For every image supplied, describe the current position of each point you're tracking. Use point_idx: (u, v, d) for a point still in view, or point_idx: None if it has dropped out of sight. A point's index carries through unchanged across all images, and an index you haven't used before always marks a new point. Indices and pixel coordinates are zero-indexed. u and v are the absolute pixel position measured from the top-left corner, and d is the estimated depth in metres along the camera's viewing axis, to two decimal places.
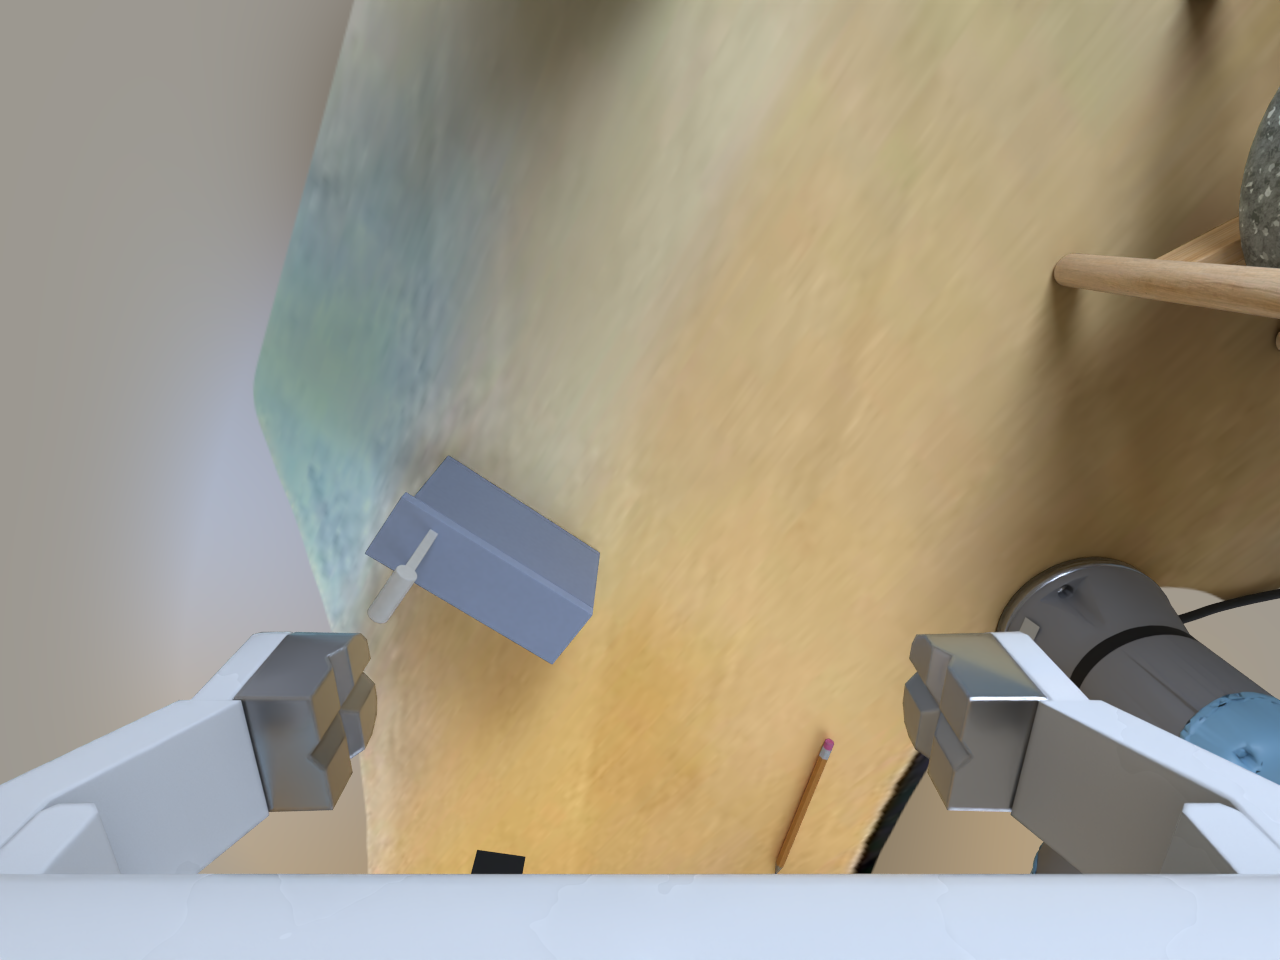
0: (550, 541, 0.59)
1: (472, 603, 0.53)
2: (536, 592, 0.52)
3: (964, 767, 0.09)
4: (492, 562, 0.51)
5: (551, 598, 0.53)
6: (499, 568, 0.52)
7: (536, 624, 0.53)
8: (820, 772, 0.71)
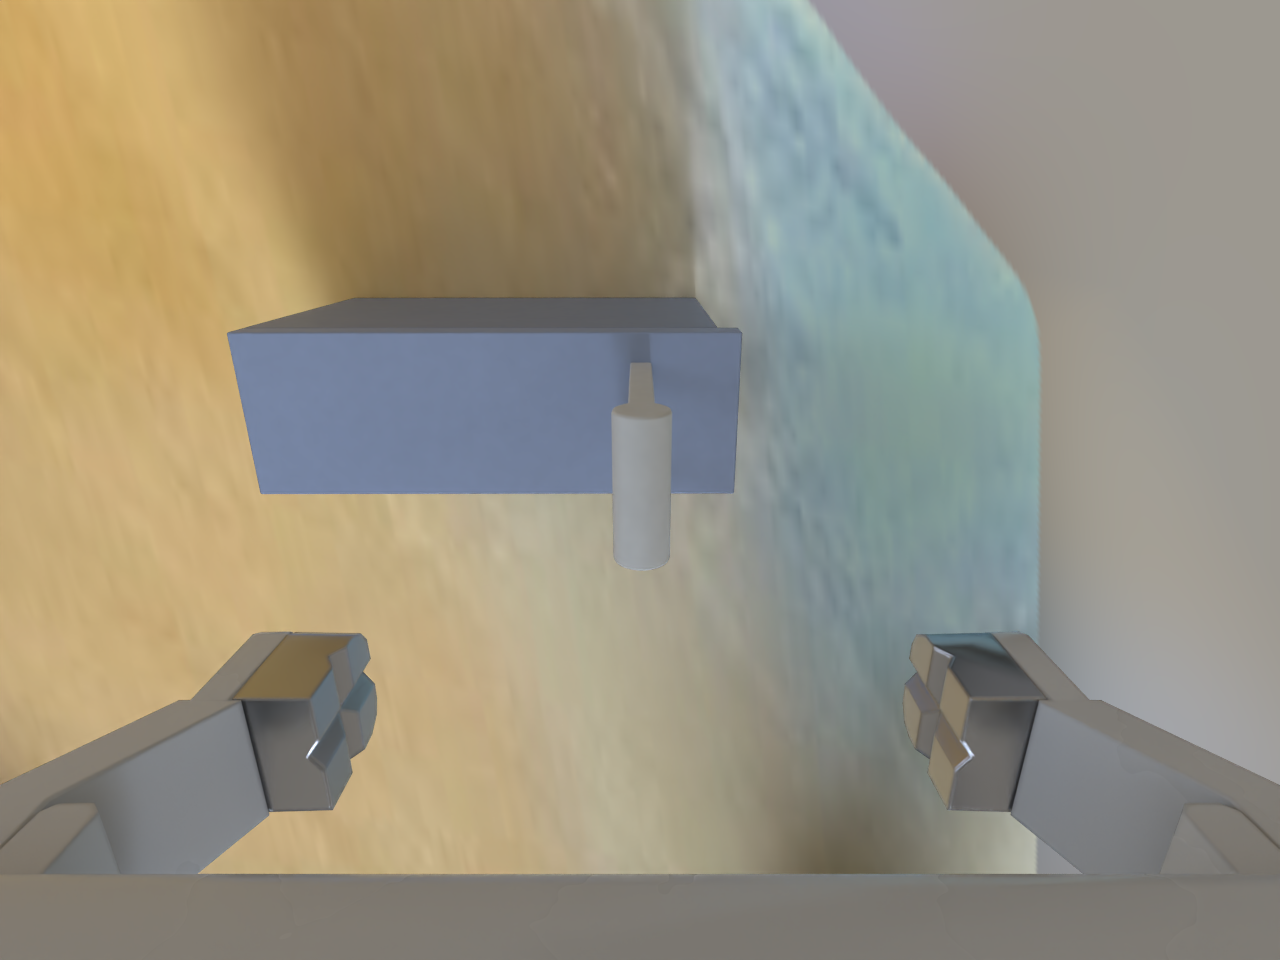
0: None
1: (476, 365, 0.23)
2: (386, 470, 0.24)
3: (964, 767, 0.09)
4: (503, 476, 0.24)
5: (353, 476, 0.24)
6: (483, 473, 0.24)
7: (331, 403, 0.23)
8: None
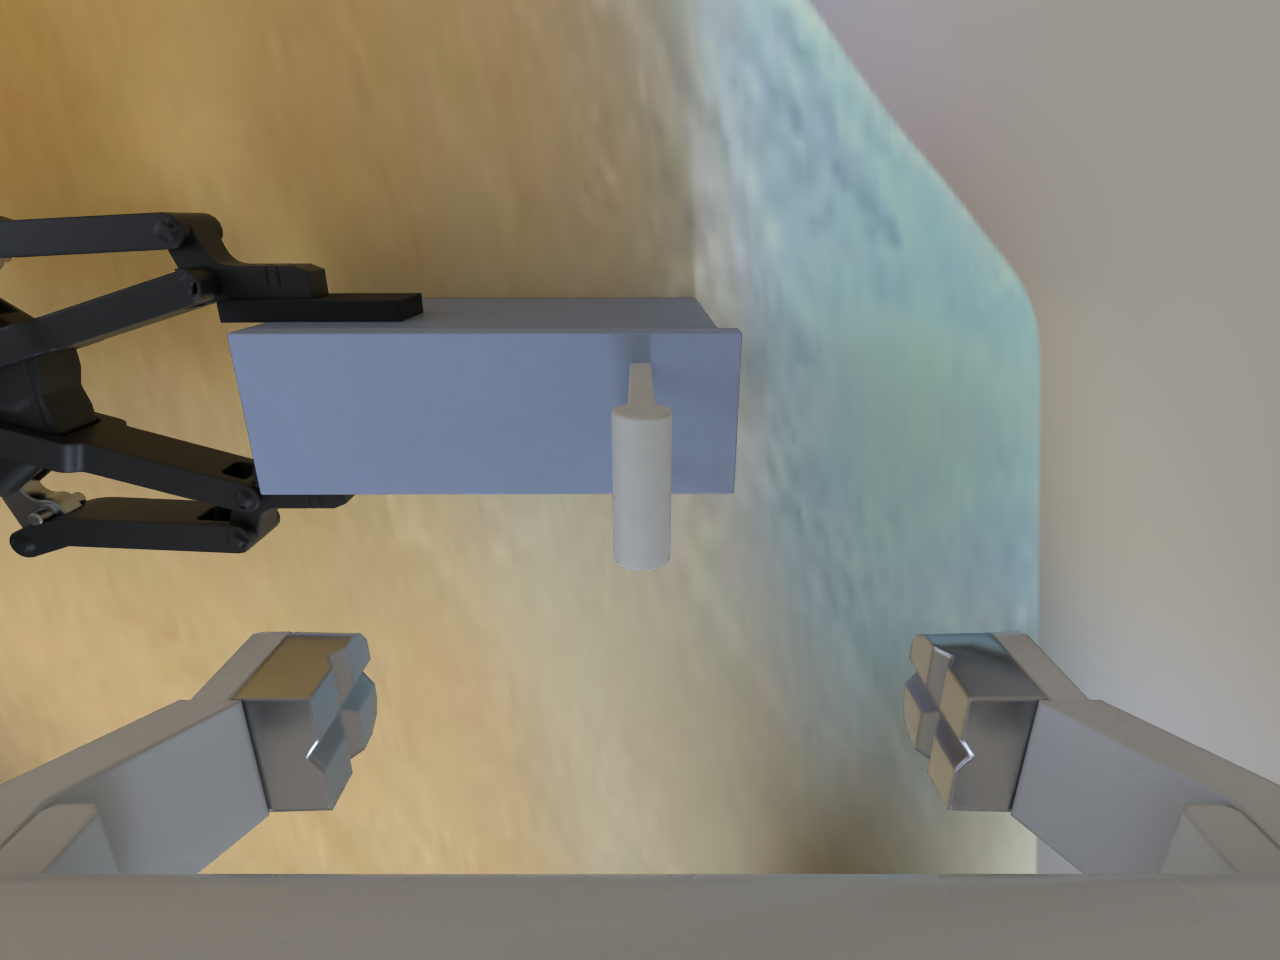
0: None
1: (476, 365, 0.23)
2: (386, 471, 0.24)
3: (963, 768, 0.09)
4: (503, 476, 0.24)
5: (353, 477, 0.24)
6: (483, 473, 0.24)
7: (331, 404, 0.23)
8: None
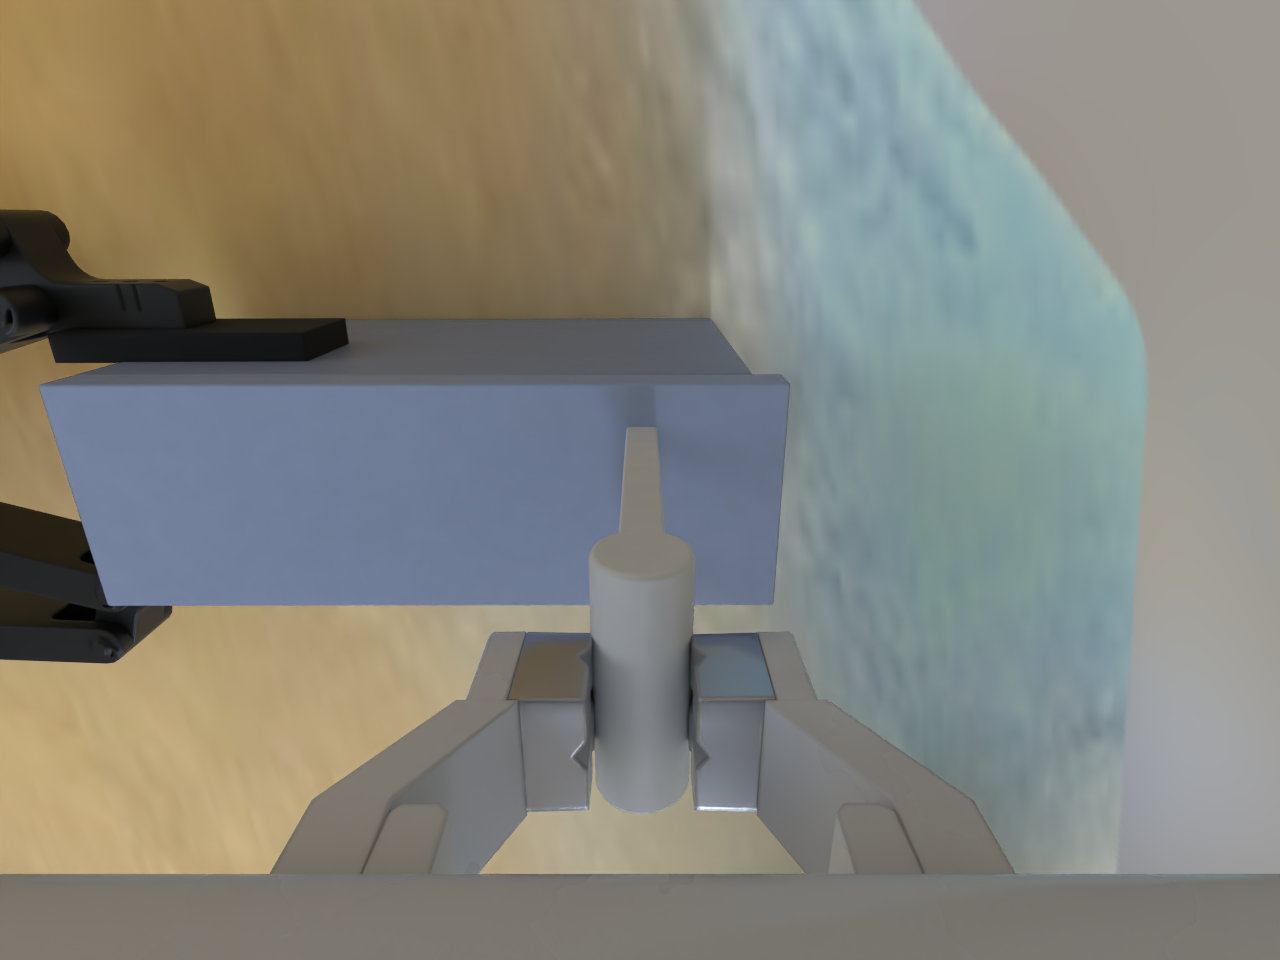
0: None
1: (403, 430, 0.16)
2: (282, 575, 0.17)
3: (704, 767, 0.09)
4: (447, 582, 0.17)
5: (235, 583, 0.17)
6: (419, 578, 0.17)
7: (197, 484, 0.16)
8: None
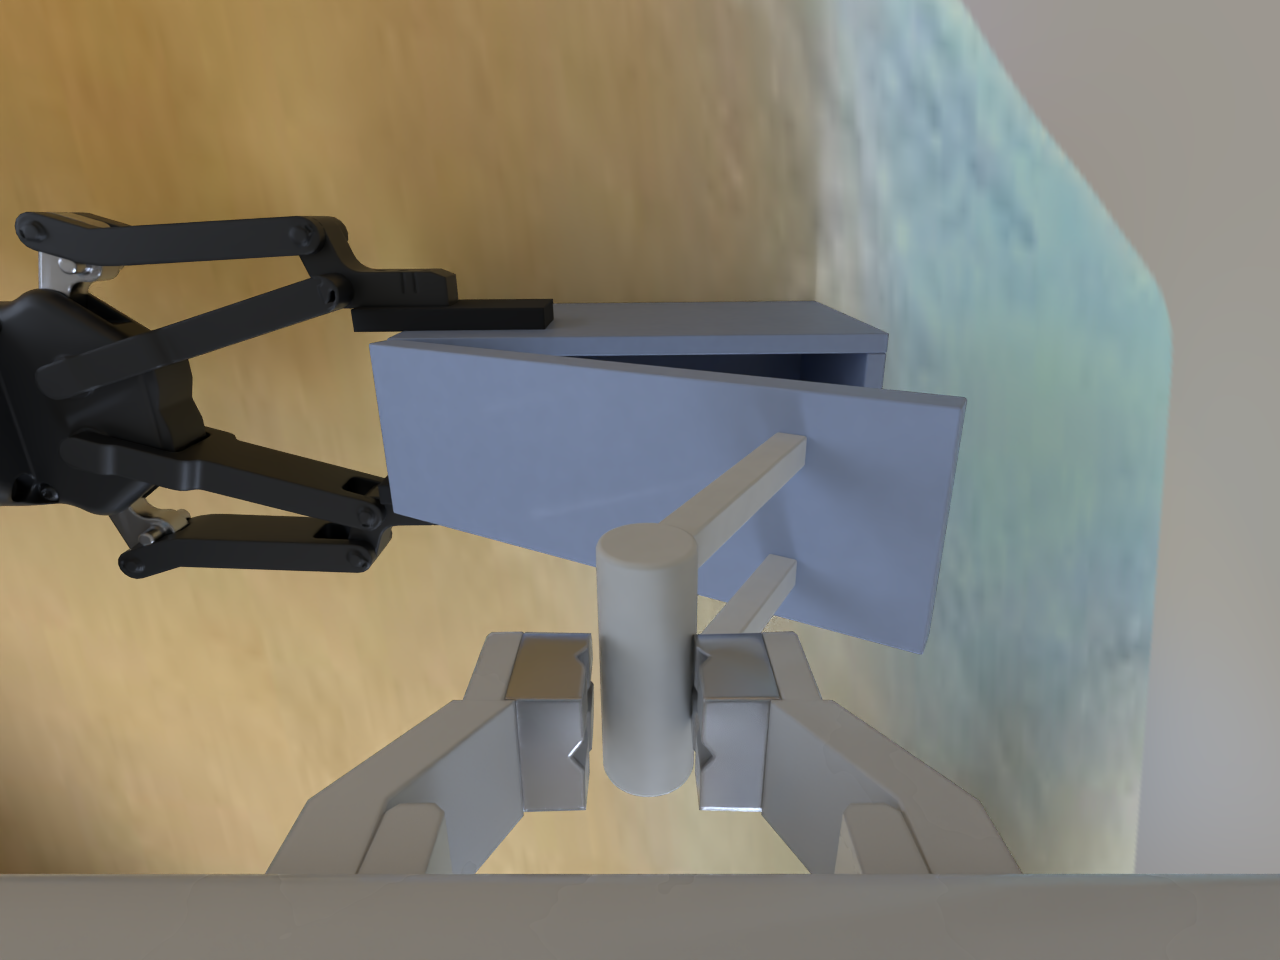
0: None
1: (587, 408, 0.18)
2: (496, 515, 0.21)
3: (708, 767, 0.09)
4: None
5: (466, 514, 0.21)
6: (590, 541, 0.19)
7: (449, 430, 0.20)
8: None
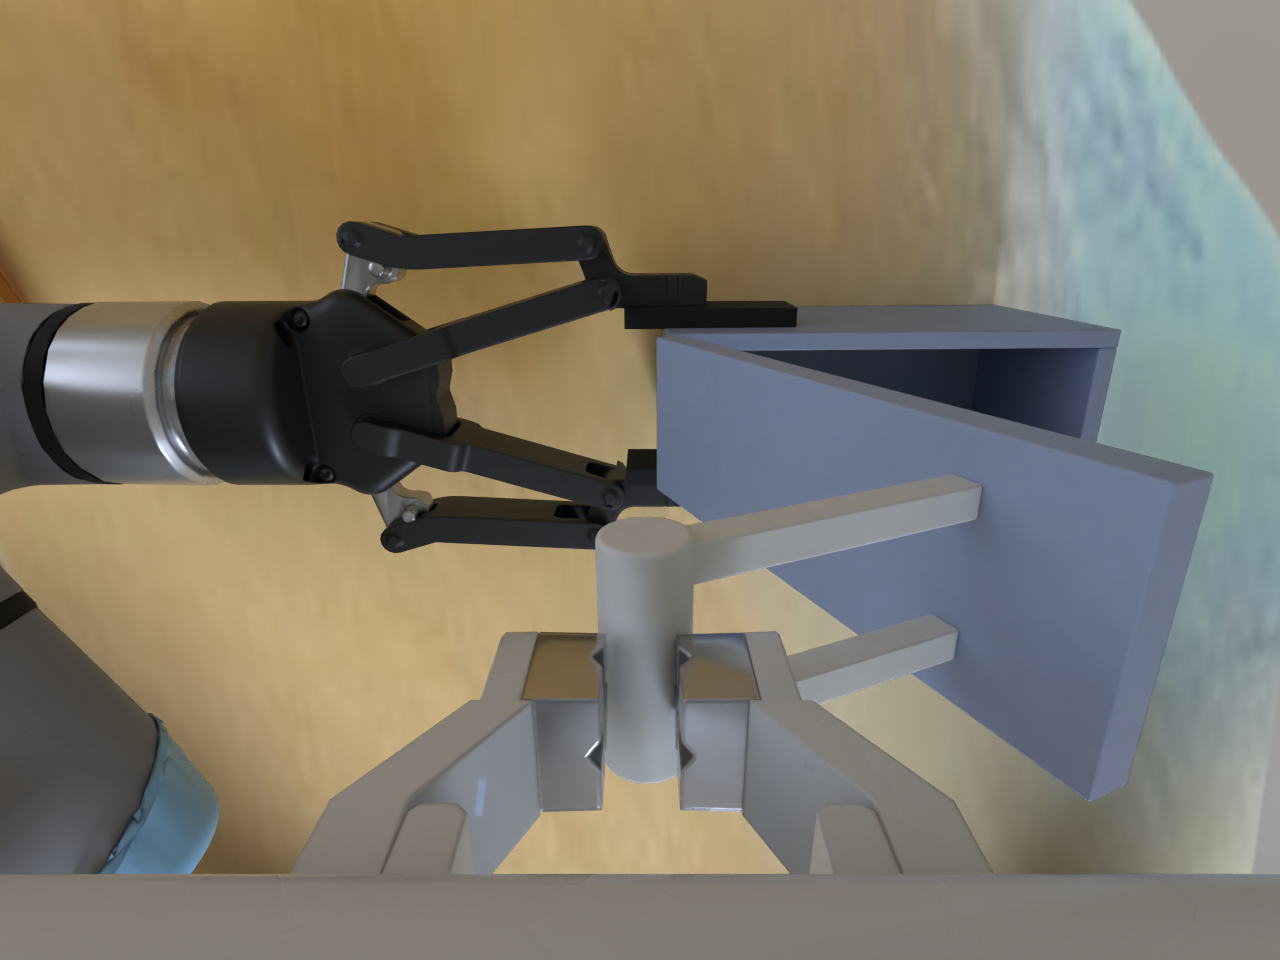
0: None
1: (792, 418, 0.17)
2: (718, 508, 0.22)
3: (689, 768, 0.09)
4: (796, 567, 0.18)
5: (700, 502, 0.23)
6: None
7: (696, 423, 0.22)
8: None
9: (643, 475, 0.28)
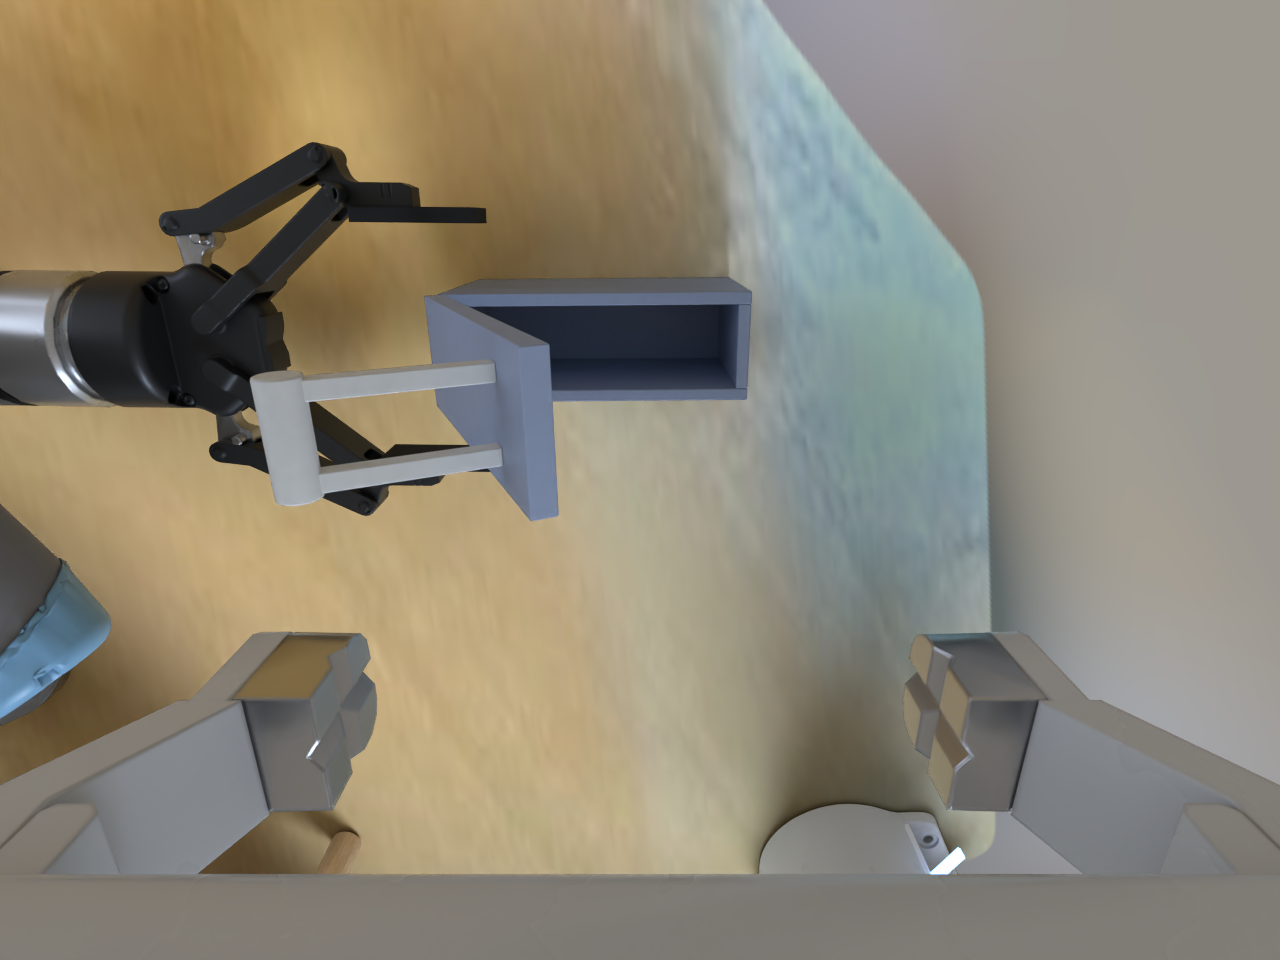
0: None
1: (459, 340, 0.28)
2: (452, 409, 0.32)
3: (963, 767, 0.09)
4: (472, 436, 0.29)
5: (448, 408, 0.33)
6: (468, 429, 0.29)
7: (440, 353, 0.33)
8: None
9: None
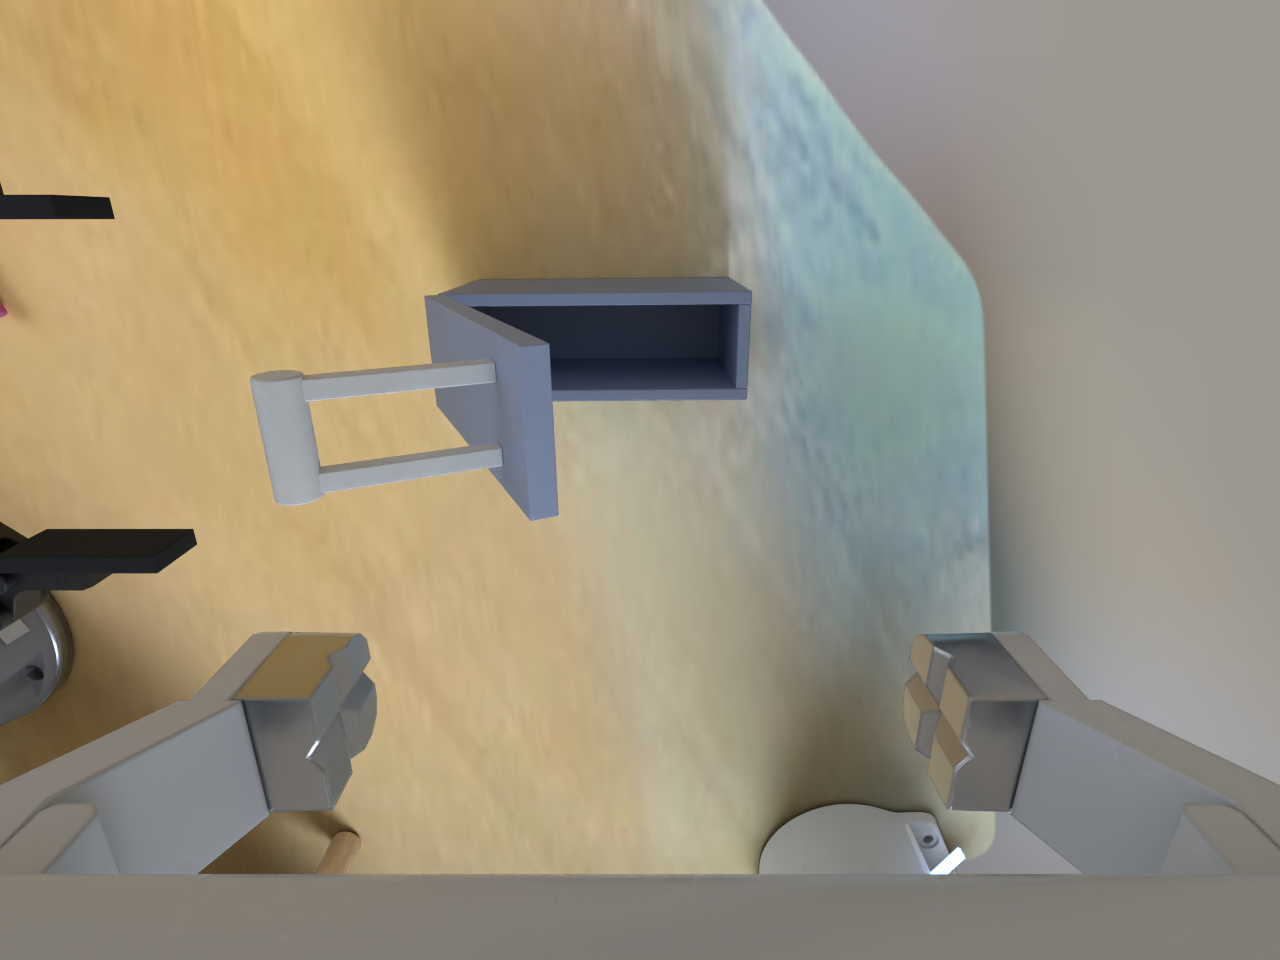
0: None
1: (459, 340, 0.28)
2: (452, 409, 0.32)
3: (963, 767, 0.09)
4: (471, 436, 0.29)
5: (447, 408, 0.33)
6: (468, 429, 0.29)
7: (440, 352, 0.33)
8: None
9: (13, 562, 0.28)
